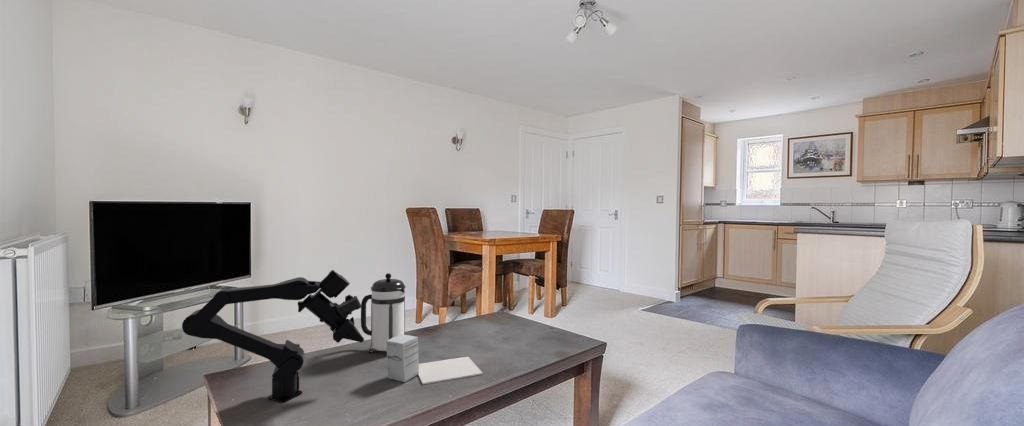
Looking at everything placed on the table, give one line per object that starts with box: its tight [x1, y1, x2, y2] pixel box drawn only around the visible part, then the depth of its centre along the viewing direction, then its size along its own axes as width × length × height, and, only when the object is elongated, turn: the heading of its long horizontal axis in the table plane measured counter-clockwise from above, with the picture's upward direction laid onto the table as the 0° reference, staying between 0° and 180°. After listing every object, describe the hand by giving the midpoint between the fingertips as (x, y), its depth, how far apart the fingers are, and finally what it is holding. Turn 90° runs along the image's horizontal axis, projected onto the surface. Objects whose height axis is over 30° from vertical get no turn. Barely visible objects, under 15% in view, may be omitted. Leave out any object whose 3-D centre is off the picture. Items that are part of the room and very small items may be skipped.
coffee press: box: [360, 272, 407, 354], centre depth 156 cm, size 17×16×30 cm
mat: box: [417, 356, 484, 385], centre depth 138 cm, size 20×16×1 cm
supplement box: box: [386, 334, 420, 383], centre depth 132 cm, size 7×7×13 cm
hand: (363, 340), depth 127 cm, fingers closed
